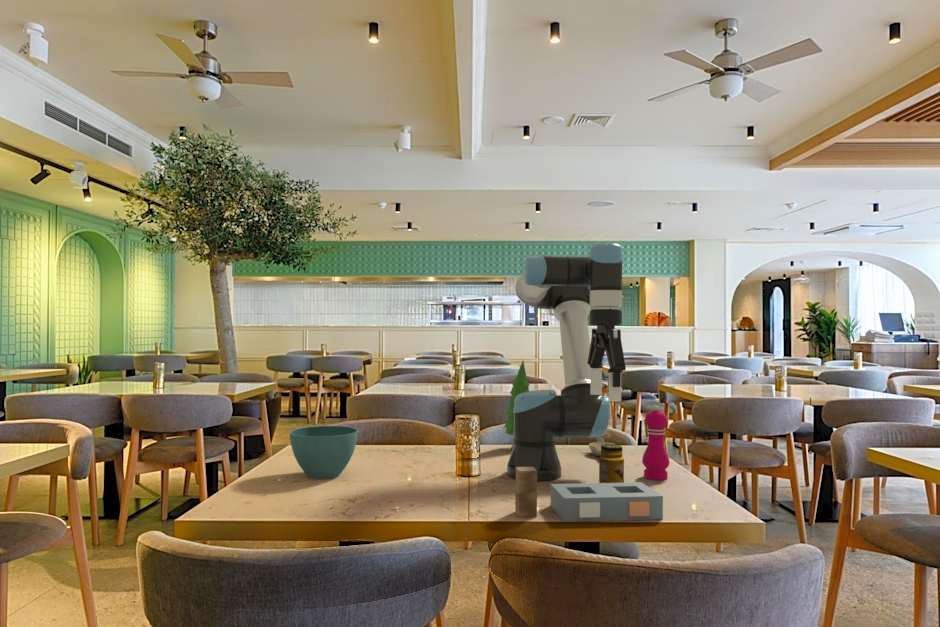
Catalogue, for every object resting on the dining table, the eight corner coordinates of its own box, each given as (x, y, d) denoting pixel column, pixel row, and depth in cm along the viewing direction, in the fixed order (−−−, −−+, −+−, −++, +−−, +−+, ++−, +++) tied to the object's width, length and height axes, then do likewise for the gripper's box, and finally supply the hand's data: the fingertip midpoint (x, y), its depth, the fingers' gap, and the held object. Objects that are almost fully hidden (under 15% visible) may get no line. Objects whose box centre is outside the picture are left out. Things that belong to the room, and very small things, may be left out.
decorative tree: (538, 448, 213) (538, 359, 214) (521, 452, 206) (522, 360, 206) (515, 444, 220) (516, 358, 220) (498, 448, 212) (499, 359, 213)
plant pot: (276, 475, 173) (276, 430, 173) (332, 464, 186) (332, 423, 186) (313, 487, 160) (314, 439, 160) (370, 475, 174) (371, 430, 174)
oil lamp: (611, 449, 214) (611, 420, 214) (622, 463, 193) (622, 430, 193) (585, 449, 214) (585, 419, 215) (593, 462, 193) (593, 430, 193)
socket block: (564, 522, 134) (564, 499, 134) (550, 505, 147) (550, 484, 147) (663, 520, 137) (664, 496, 137) (641, 503, 149) (641, 482, 149)
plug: (518, 517, 138) (519, 471, 138) (515, 511, 142) (515, 467, 142) (536, 516, 138) (537, 470, 138) (532, 511, 142) (533, 466, 142)
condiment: (630, 496, 155) (630, 447, 155) (598, 498, 153) (598, 449, 153) (616, 489, 162) (617, 442, 162) (586, 490, 160) (586, 443, 160)
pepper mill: (670, 481, 171) (671, 407, 171) (643, 479, 172) (643, 406, 173) (667, 475, 178) (668, 403, 178) (641, 473, 179) (641, 403, 180)
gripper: (641, 307, 139) (640, 404, 138) (603, 309, 164) (603, 392, 163) (608, 307, 138) (607, 404, 138) (575, 309, 163) (575, 392, 162)
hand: (605, 398), depth 150 cm, fingers open, 13 cm apart
